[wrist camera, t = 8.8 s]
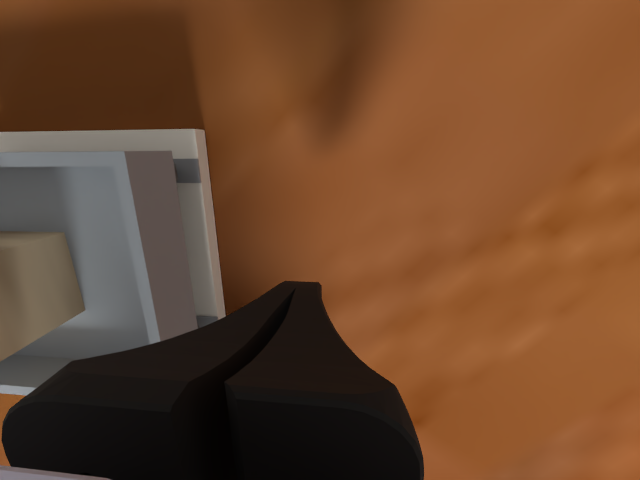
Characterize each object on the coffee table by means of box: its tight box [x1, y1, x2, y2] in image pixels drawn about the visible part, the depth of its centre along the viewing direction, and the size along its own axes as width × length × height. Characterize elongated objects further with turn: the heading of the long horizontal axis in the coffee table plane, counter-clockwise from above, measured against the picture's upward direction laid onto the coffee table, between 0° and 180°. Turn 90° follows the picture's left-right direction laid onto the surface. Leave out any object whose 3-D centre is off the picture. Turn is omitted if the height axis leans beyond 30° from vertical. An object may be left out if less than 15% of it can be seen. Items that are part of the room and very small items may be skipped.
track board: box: [0, 129, 226, 328], centre depth 18 cm, size 13×22×1 cm, turn 91°
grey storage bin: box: [0, 151, 200, 395], centre depth 15 cm, size 11×12×5 cm
